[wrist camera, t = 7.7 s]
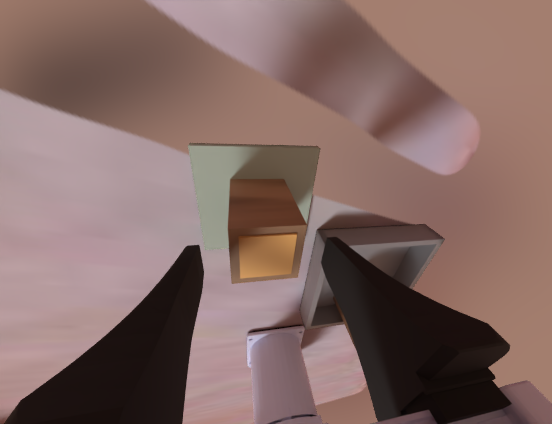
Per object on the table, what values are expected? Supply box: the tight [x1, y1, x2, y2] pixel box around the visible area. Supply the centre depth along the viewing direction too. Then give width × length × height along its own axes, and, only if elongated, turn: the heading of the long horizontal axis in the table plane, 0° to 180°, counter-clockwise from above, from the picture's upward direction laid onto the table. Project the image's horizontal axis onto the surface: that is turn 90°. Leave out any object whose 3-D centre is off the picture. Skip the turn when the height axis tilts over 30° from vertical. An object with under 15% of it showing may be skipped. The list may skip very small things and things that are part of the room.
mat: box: [188, 143, 320, 250], centre depth 16 cm, size 9×9×1 cm
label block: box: [228, 179, 307, 284], centre depth 14 cm, size 4×4×6 cm
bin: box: [300, 224, 445, 330], centre depth 23 cm, size 13×12×2 cm
